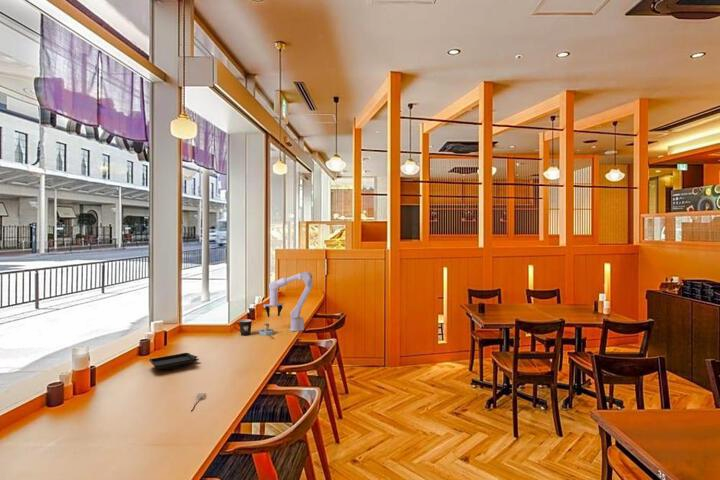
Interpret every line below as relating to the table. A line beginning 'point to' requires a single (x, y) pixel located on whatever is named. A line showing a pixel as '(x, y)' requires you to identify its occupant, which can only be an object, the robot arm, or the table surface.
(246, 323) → the coffee mug
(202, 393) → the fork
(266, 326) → the needle dowel
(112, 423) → the table surface
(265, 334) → the bead ring
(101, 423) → the table surface
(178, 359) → the tray
